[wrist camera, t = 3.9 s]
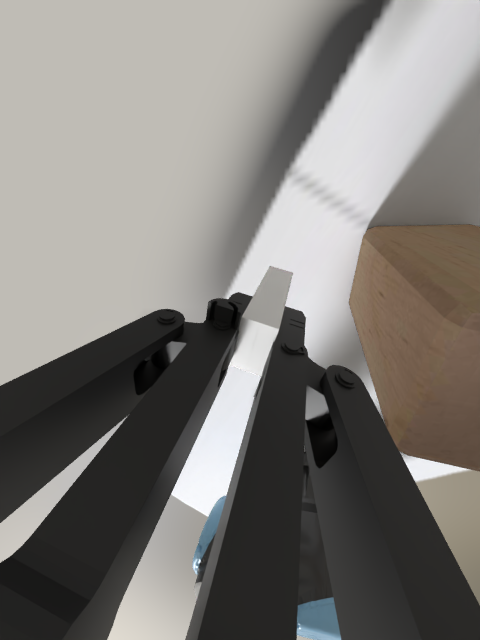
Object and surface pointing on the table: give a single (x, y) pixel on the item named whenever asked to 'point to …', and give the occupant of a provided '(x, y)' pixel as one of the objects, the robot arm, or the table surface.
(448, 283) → the wooden block
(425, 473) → the table surface
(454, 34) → the table surface
